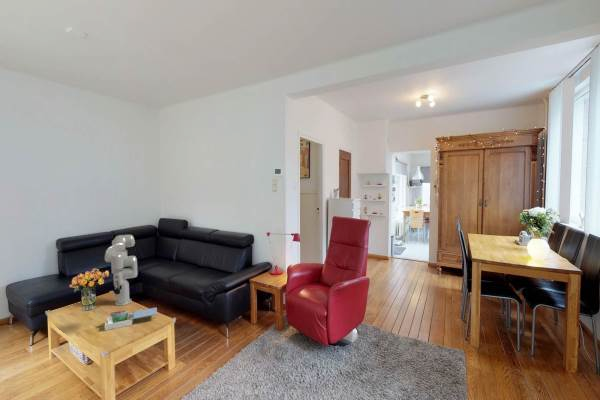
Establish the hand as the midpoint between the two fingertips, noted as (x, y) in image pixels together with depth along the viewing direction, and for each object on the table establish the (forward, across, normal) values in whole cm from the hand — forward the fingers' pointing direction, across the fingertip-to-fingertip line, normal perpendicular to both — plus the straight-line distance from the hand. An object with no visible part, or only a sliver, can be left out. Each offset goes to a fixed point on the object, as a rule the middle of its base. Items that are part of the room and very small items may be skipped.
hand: (118, 291), depth 211 cm
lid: (+22, 0, -17) cm, 28 cm away
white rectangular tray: (+26, 0, 0) cm, 26 cm away
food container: (+26, -2, 0) cm, 26 cm away
